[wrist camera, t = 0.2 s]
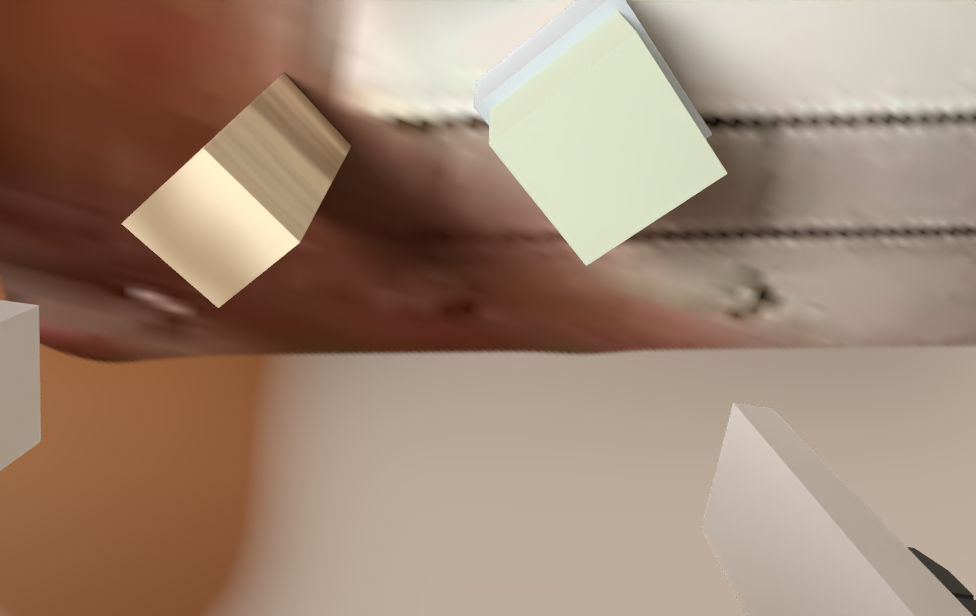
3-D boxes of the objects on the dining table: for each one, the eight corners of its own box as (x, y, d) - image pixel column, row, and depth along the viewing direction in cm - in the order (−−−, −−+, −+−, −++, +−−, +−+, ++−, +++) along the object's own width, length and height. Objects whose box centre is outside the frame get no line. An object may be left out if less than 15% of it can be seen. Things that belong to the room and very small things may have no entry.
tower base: (604, -24, 35) (619, -10, 31) (688, 105, 38) (712, 134, 34) (476, 80, 38) (473, 106, 33) (565, 193, 41) (573, 230, 37)
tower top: (617, 10, 31) (636, 32, 27) (698, 135, 34) (727, 173, 30) (490, 109, 33) (488, 144, 29) (575, 219, 36) (586, 265, 32)
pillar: (283, 72, 37) (203, 148, 27) (351, 146, 39) (299, 242, 29) (220, 131, 39) (121, 223, 29) (288, 199, 41) (218, 308, 31)
